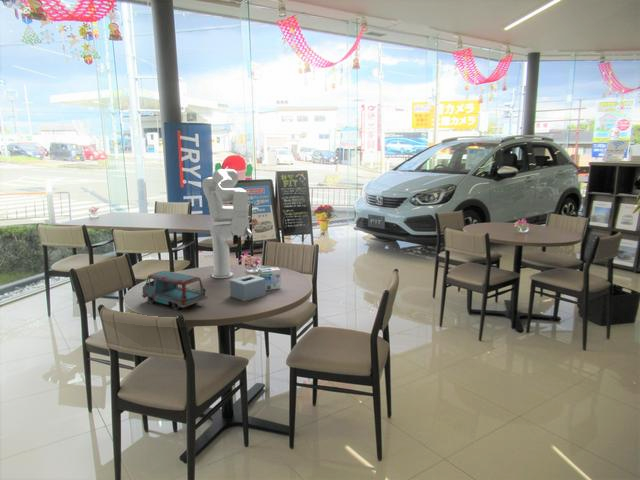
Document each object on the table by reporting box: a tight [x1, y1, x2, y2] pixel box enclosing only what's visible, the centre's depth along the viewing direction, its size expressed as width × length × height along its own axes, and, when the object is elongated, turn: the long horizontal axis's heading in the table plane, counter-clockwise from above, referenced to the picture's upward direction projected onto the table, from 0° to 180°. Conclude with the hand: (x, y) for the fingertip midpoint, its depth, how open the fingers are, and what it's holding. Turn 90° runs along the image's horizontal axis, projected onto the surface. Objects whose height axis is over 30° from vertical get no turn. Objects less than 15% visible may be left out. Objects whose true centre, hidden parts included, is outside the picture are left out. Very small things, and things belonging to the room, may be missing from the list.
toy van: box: [141, 270, 208, 311], centre depth 226 cm, size 16×32×15 cm, turn 58°
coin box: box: [229, 274, 267, 302], centre depth 238 cm, size 12×14×9 cm
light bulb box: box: [259, 266, 282, 291], centre depth 251 cm, size 11×7×11 cm, turn 112°
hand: (241, 245), depth 241 cm, fingers open, 9 cm apart
